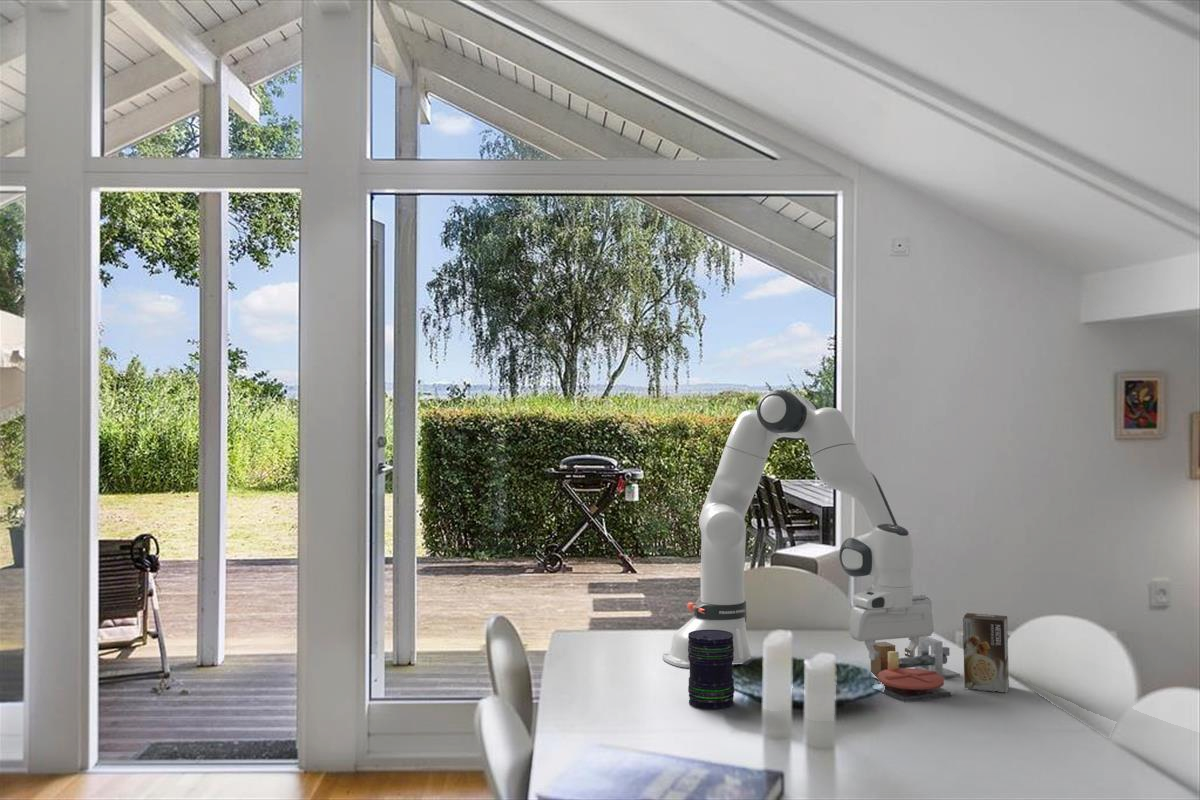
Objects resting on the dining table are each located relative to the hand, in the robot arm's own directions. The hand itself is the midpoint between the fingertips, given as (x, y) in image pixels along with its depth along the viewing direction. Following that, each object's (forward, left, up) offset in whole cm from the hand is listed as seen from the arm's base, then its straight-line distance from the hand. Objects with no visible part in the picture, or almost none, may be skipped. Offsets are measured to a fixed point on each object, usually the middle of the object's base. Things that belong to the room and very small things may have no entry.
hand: (891, 657), depth 247 cm
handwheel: (+1, -6, -5) cm, 8 cm away
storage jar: (-44, +2, -7) cm, 45 cm away
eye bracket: (+17, +6, -6) cm, 19 cm away
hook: (+10, +6, -6) cm, 13 cm away
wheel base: (+1, -6, -6) cm, 9 cm away
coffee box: (+19, -9, -7) cm, 22 cm away
